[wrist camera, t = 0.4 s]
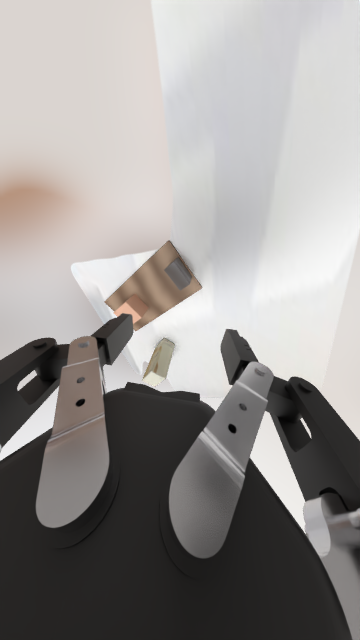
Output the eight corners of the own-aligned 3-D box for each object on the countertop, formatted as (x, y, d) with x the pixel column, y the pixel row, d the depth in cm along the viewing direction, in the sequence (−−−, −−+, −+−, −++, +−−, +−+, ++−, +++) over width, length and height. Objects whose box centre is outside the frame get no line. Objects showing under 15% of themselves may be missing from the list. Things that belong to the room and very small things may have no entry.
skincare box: (164, 337, 42) (151, 370, 32) (175, 344, 43) (166, 378, 33) (154, 348, 46) (140, 381, 36) (165, 354, 47) (154, 388, 37)
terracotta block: (135, 293, 34) (125, 302, 30) (148, 307, 36) (141, 317, 32) (123, 303, 37) (113, 312, 32) (136, 316, 38) (128, 326, 34)
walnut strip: (169, 240, 27) (161, 242, 23) (201, 287, 32) (201, 297, 27) (106, 300, 38) (91, 311, 33) (136, 329, 42) (128, 342, 38)
